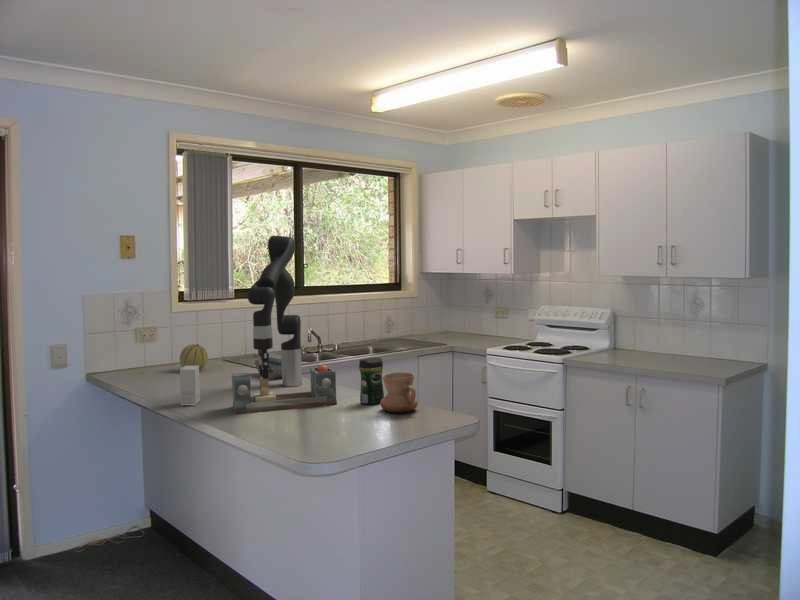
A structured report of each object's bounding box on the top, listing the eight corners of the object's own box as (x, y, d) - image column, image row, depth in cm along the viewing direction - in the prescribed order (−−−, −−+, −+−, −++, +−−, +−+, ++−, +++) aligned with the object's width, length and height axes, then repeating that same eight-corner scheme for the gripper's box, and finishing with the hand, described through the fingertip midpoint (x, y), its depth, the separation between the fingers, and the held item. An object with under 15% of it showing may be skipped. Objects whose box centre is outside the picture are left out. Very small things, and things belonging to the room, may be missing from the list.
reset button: (317, 375, 265) (316, 365, 265) (326, 374, 266) (326, 364, 266) (319, 376, 261) (318, 367, 261) (328, 376, 263) (328, 366, 262)
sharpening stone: (254, 374, 332) (253, 354, 331) (267, 372, 337) (267, 352, 337) (278, 381, 313) (278, 359, 313) (292, 378, 318) (292, 357, 318)
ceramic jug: (371, 409, 249) (370, 373, 248) (401, 403, 258) (400, 369, 256) (398, 419, 235) (397, 381, 233) (429, 412, 243) (428, 376, 242)
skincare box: (185, 402, 269) (183, 365, 268) (201, 401, 270) (199, 365, 269) (180, 406, 261) (178, 369, 260) (196, 406, 262) (195, 368, 261)
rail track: (232, 406, 259) (231, 373, 259) (329, 397, 272) (328, 366, 272) (235, 414, 246) (234, 379, 245) (336, 404, 259) (336, 371, 258)
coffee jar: (375, 399, 267) (374, 355, 266) (387, 402, 261) (386, 357, 260) (356, 403, 261) (355, 358, 260) (367, 406, 255) (366, 360, 254)
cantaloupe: (183, 369, 353) (182, 342, 352) (210, 368, 355) (209, 341, 354) (177, 374, 339) (175, 346, 338) (205, 373, 340) (204, 345, 339)
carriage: (253, 401, 259) (252, 376, 258) (273, 399, 262) (272, 375, 261) (255, 405, 251) (254, 380, 251) (276, 403, 254) (275, 378, 253)
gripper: (251, 335, 260) (252, 375, 261) (255, 339, 247) (256, 380, 248) (269, 334, 263) (271, 373, 264) (274, 338, 249) (276, 379, 250)
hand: (264, 377), depth 256 cm, fingers open, 8 cm apart
